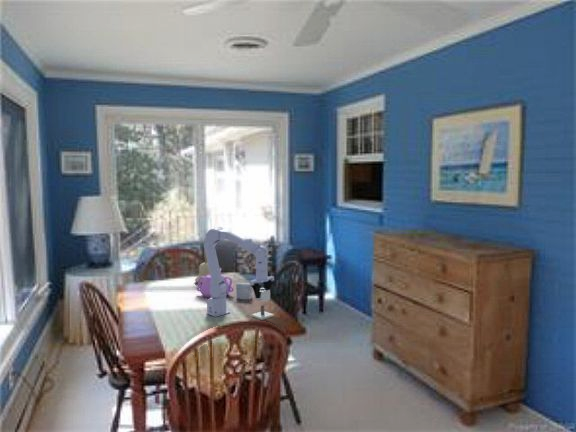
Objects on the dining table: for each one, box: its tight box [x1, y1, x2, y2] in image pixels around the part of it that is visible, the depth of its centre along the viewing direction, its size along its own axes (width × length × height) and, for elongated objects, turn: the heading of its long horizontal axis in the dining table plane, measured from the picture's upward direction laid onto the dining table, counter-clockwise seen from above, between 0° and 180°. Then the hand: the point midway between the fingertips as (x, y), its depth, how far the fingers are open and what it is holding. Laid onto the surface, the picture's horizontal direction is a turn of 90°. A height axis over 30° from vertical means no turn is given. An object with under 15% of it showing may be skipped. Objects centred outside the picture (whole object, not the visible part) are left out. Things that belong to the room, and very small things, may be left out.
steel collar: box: [253, 287, 271, 302], centre depth 232 cm, size 6×6×5 cm
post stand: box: [250, 304, 275, 321], centre depth 233 cm, size 8×8×6 cm
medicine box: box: [235, 282, 253, 301], centre depth 265 cm, size 8×4×9 cm, turn 74°
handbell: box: [194, 248, 210, 284], centre depth 304 cm, size 15×15×25 cm
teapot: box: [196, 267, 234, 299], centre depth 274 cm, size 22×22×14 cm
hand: (262, 296), depth 232 cm, fingers closed on steel collar, 6 cm apart
